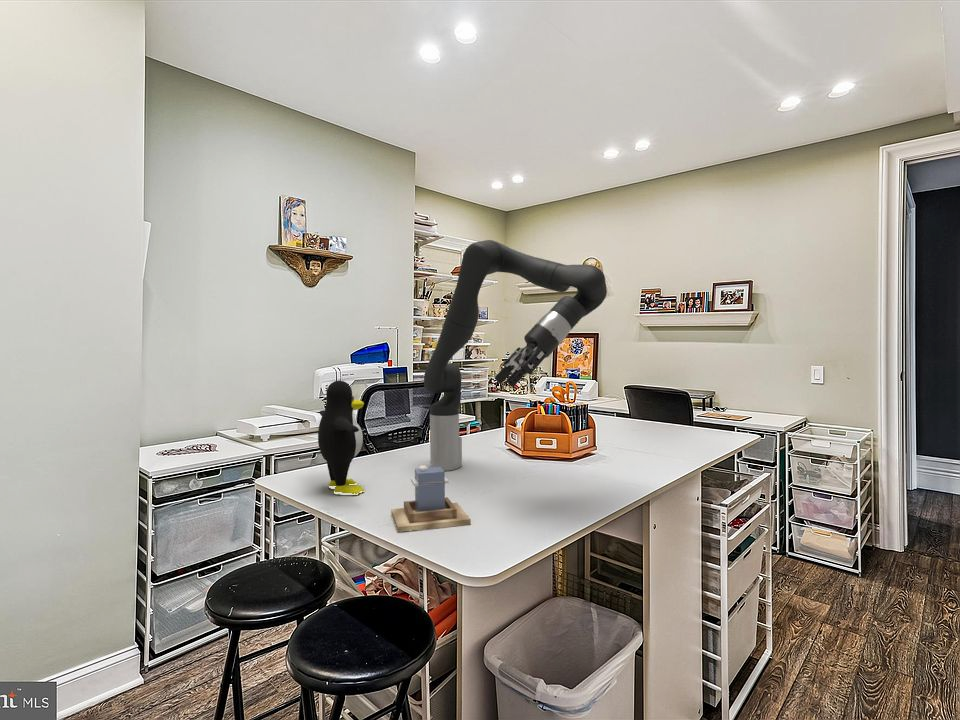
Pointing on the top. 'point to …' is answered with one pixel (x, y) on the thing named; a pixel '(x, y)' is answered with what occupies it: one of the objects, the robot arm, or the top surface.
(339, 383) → the toy
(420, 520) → the wooden fixture board
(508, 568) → the top surface
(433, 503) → the servo block
